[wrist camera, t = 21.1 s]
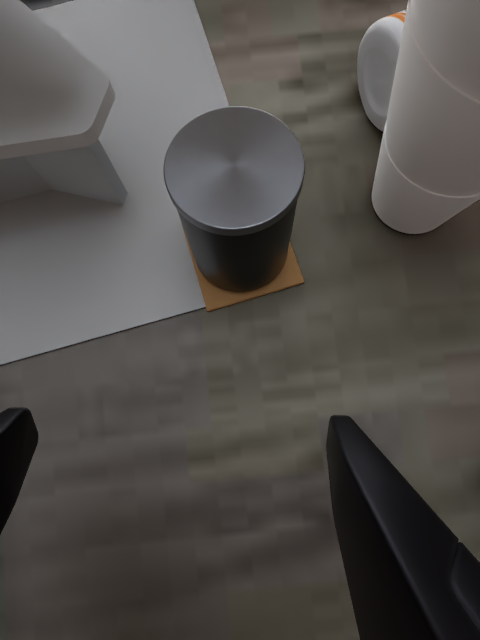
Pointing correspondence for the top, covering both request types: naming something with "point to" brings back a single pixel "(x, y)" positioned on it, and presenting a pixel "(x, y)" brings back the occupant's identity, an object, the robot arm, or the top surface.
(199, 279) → the cork coaster
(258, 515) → the top surface
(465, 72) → the paper towel roll
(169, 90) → the file organizer
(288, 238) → the black lidded canister
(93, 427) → the top surface
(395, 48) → the pill bottle
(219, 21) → the top surface
